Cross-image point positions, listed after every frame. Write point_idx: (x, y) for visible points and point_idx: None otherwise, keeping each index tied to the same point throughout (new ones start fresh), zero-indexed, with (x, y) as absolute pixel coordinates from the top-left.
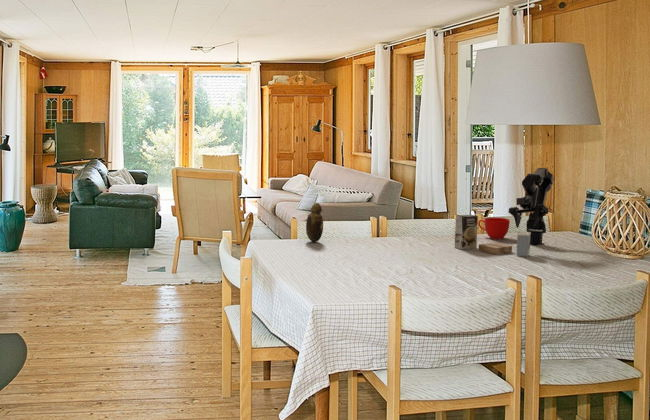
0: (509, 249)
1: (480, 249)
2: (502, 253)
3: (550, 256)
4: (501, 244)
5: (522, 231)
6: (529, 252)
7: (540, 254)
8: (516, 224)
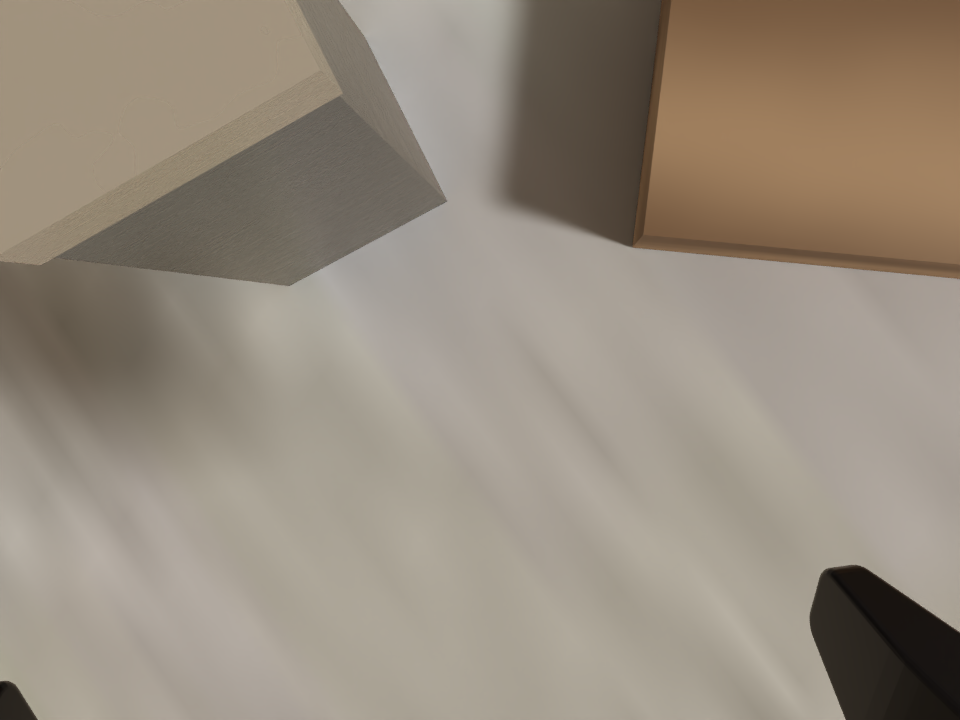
0: (644, 172)
1: None
2: (661, 8)
3: (43, 481)
4: (917, 200)
5: (219, 116)
6: (268, 279)
7: (229, 494)
8: (918, 633)
